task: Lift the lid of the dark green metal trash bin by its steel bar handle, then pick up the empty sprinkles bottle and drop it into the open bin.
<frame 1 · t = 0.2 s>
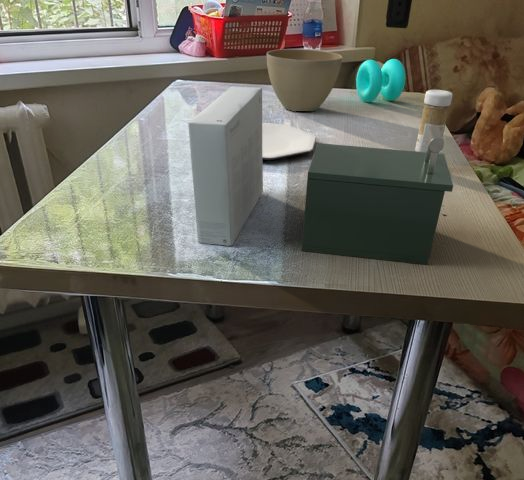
hand: (395, 23, 85), 24 cm above the table, tool pointing down, fingers open, 9 cm apart
sprinkles bottle: (423, 170, 102), on the table
flower pot: (300, 109, 137), on the table
bin lid: (382, 148, 70), point 12 cm above the table, hinge at 0.0°
plate: (256, 146, 111), on the table
turquoise yoyo: (377, 101, 147), on the table
trash bin: (364, 237, 77), on the table
skincare box: (231, 216, 82), on the table
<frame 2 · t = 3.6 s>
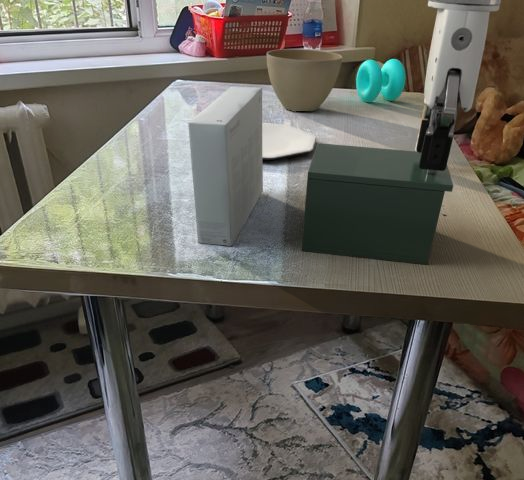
hand: (430, 159, 70), 12 cm above the table, tool pointing down, fingers closed on bin lid, 6 cm apart
bin lid: (382, 148, 70), point 12 cm above the table, hinge at 0.0°, touching gripper
everything else where it was.
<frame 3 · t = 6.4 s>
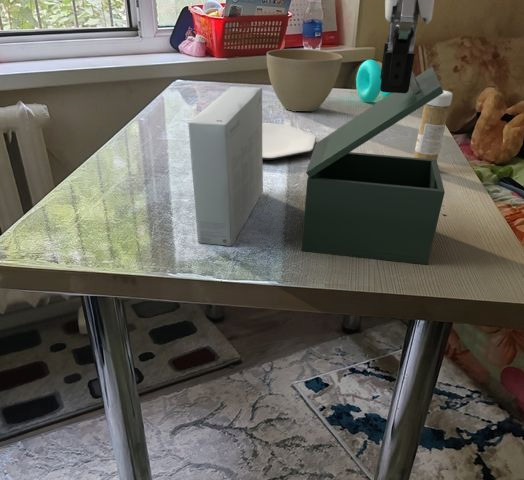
hand: (393, 84, 65), 20 cm above the table, tool pointing down, fingers closed on bin lid, 6 cm apart
bin lid: (362, 105, 67), point 17 cm above the table, hinge at 37.7°, touching gripper
everything else where it was.
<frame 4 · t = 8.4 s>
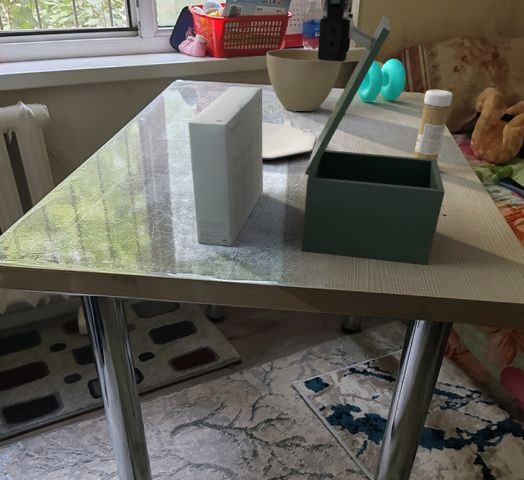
hand: (334, 54, 65), 23 cm above the table, tool pointing down, fingers closed on bin lid, 6 cm apart
bin lid: (331, 87, 67), point 19 cm above the table, hinge at 66.4°, touching gripper
everything else where it was.
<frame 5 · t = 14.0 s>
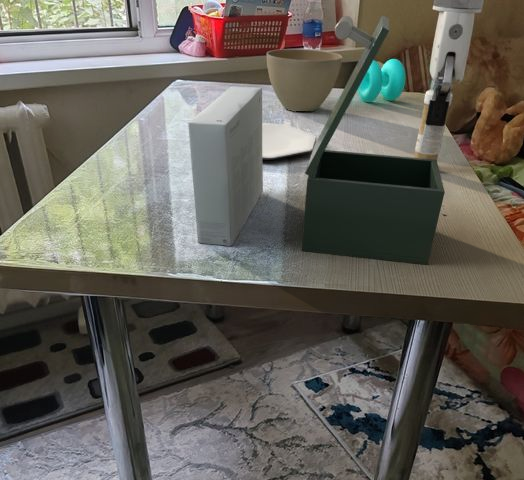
hand: (433, 120, 97), 9 cm above the table, tool pointing down, fingers closed on sprinkles bottle, 4 cm apart
sprinkles bottle: (423, 170, 102), on the table, touching gripper
bin lid: (330, 87, 67), point 19 cm above the table, hinge at 66.7°
everything else where it was.
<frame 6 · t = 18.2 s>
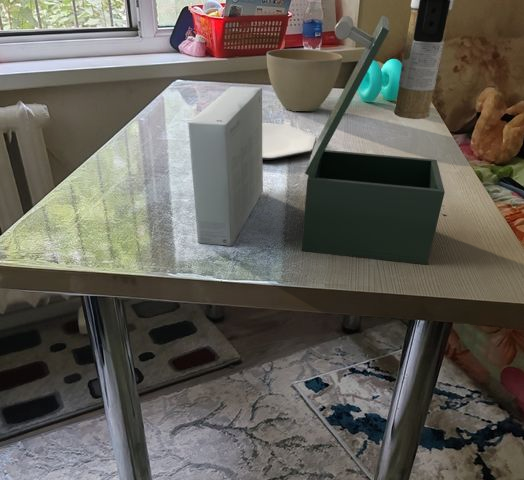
hand: (426, 36, 64), 25 cm above the table, tool pointing down, fingers closed on sprinkles bottle, 4 cm apart
sprinkles bottle: (410, 117, 69), point 16 cm above the table, touching gripper
everything else where it was.
when the fingers open (10 cm above the table, at t = 22.2 s): sprinkles bottle stays where it is, resting on trash bin.
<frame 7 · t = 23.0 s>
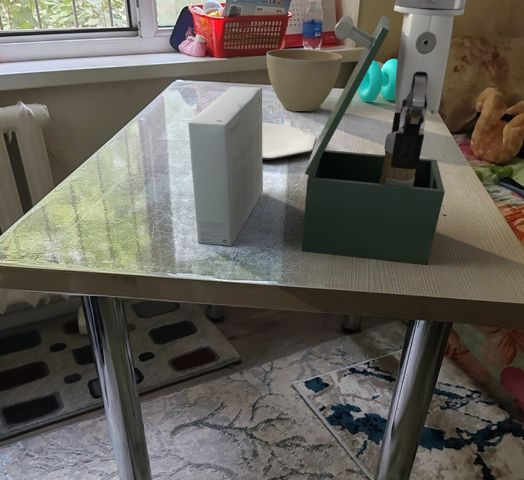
hand: (402, 155, 70), 12 cm above the table, tool pointing down, fingers open, 9 cm apart
sprinkles bottle: (386, 236, 77), point 1 cm above the table, touching trash bin
everything else where it was.
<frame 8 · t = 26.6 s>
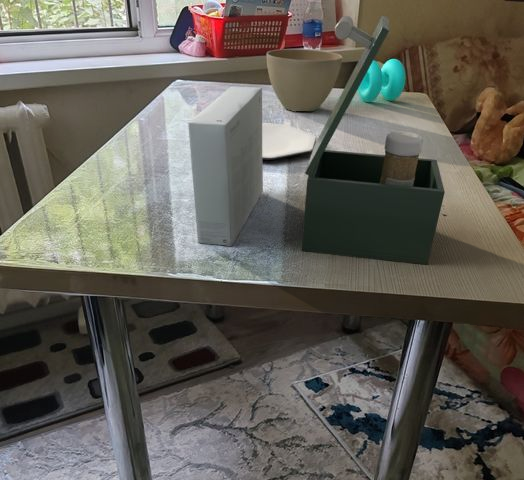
nothing on the table moved.
at the end: bin lid at +67° (first picture: +0°); sprinkles bottle inside the target area in the trash bin (3.0 cm from its centre), point 0.6 cm above the trash bin's base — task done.
